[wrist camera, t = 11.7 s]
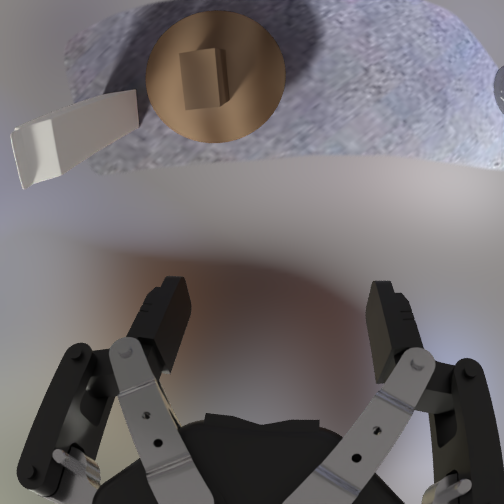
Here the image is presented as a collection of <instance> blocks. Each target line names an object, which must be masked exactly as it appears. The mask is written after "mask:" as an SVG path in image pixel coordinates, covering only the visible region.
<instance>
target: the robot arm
mask: <svg viewBox="0 0 504 504" xmlns="http://www.w3.org/2000/svg"><path fill="white" fill-rule="evenodd" d="M494 93H495V98H496V102H497V104H498V106H499V108H500V110H501V111H502V113H503V114H504V66H503V67H501V68H500V69H499V71H498V73H497V74H496V77H495V82H494ZM190 315H191V300H190V296H189V293H188V289H187V285H186V281H185V278H184V277H179V276H177V277H176V276H167V277H166V278H165V279H164V281H163V283H162V285H161V287H155V288H154V289H153V290H152V291H151V292H150V293H149V294H148V295H147V296H146V298H145V300H144V302H143V305H142V306H141V308H140V312H138V314H137V316H136V318H135V320H134V322H133V324H132V326H131V328H130V330H129V332H128V334H127V336H126V337H124V338H121V339H119V340H117V341H116V342H114V343H113V345H112V346H111V347H110V349H103V350H96V351H92V349H91V348H90V346H89V345H88V344H86V343H77V344H74V345H72V346H71V347H69V348H68V349H67V351H66V352H65V354H64V356H63V358H62V360H61V362H60V364H59V366H58V369H57V370H56V373H55V375H54V377H53V379H52V381H51V383H50V385H49V388H48V390H47V392H46V394H45V396H44V399H43V401H42V404H41V406H40V408H39V410H38V413H37V415H36V418H35V420H34V423H33V425H32V428H31V430H30V433H29V435H28V438H27V440H26V443H25V446H24V449H23V452H22V454H21V457H20V460H19V463H18V466H17V477H18V480H19V482H20V483H21V485H22V486H23V487H25V488H27V489H28V490H31V491H33V492H35V493H36V494H38V495H39V496H41V497H43V498H45V499H48V500H50V501H52V502H55V503H57V504H404V503H403V501H402V500H401V499H400V498H399V497H398V496H397V495H396V494H395V493H394V492H393V491H392V490H391V489H390V488H389V487H388V486H387V485H386V484H385V482H384V481H383V480H382V479H381V478H380V477H379V476H378V475H377V474H376V473H375V472H376V470H377V469H378V467H379V466H380V465H381V463H382V462H383V460H384V459H385V457H386V456H387V455H388V453H389V452H390V450H391V449H392V447H393V445H394V444H395V442H396V441H397V439H398V438H399V436H400V434H401V433H402V431H403V430H404V428H405V426H406V424H407V423H408V421H409V420H410V418H411V416H412V414H413V412H414V410H417V411H422V412H427V413H429V421H430V431H431V441H432V453H433V468H434V484H433V485H431V486H430V487H429V488H428V489H427V490H426V491H425V493H424V495H423V498H422V504H504V467H503V460H502V452H501V446H500V440H499V434H498V429H497V424H496V419H495V414H494V410H493V406H492V401H491V397H490V393H489V389H488V385H487V382H486V378H485V375H484V371H483V369H482V367H481V365H480V364H479V363H478V362H476V361H475V360H473V359H470V358H464V359H461V360H459V361H458V362H457V363H456V365H450V364H445V363H441V362H437V361H435V360H434V357H433V356H432V355H431V354H430V353H429V352H428V351H427V350H425V349H424V348H423V344H422V341H421V338H420V334H419V332H418V328H417V325H416V322H415V320H414V316H413V313H412V309H411V306H410V304H409V301H408V300H407V299H406V298H405V297H404V295H403V294H402V293H395V292H394V290H393V286H392V283H391V281H373V282H372V285H371V290H370V294H369V298H368V302H367V306H366V323H367V329H368V335H369V340H370V346H371V352H372V358H373V365H374V372H375V379H376V383H377V384H380V383H384V385H383V387H382V388H381V390H380V391H378V392H377V393H376V395H375V396H374V397H373V399H372V400H371V402H370V403H369V405H368V406H367V407H366V409H365V410H364V411H363V413H362V414H361V415H360V417H359V418H358V419H357V421H356V422H355V423H354V425H353V426H352V427H351V429H350V430H349V431H348V432H347V434H346V435H345V436H344V437H342V436H340V435H339V434H337V433H335V432H333V431H331V430H328V429H326V428H322V427H319V420H288V421H282V422H277V423H272V424H265V425H259V424H256V423H253V422H249V421H246V420H243V419H240V418H237V417H234V416H227V415H218V414H210V413H206V415H205V419H204V420H200V421H196V422H192V423H189V424H187V425H185V426H182V425H181V423H180V421H179V420H178V418H177V416H176V414H175V412H174V410H173V408H172V406H171V404H170V402H169V400H168V398H167V396H166V394H165V391H164V389H163V387H162V385H161V383H160V380H159V379H160V376H161V373H166V374H170V373H171V370H172V367H173V364H174V361H175V359H176V356H177V353H178V350H179V347H180V344H181V341H182V338H183V335H184V332H185V329H186V327H187V324H188V321H189V318H190ZM115 396H118V399H119V402H120V405H121V408H122V411H123V414H124V417H125V420H126V422H127V425H128V428H129V431H130V434H131V436H132V439H133V442H134V444H135V447H136V449H137V452H138V454H139V456H140V458H139V459H138V460H136V461H135V462H134V463H132V464H131V465H130V466H128V467H126V468H125V469H124V470H122V471H121V472H120V473H118V474H116V475H115V476H113V477H112V478H111V479H109V480H108V481H106V482H105V483H103V484H102V485H100V480H101V477H100V469H99V466H98V464H97V463H96V462H95V459H96V456H97V452H98V449H99V445H100V442H101V439H102V436H103V432H104V429H105V426H106V423H107V420H108V417H109V414H110V411H111V408H112V405H113V402H114V399H115Z"/></svg>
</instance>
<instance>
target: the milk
mask: <svg viewBox="0 0 504 504" xmlns="http://www.w3.org/2000/svg"><path fill="white" fill-rule="evenodd" d="M137 128H139V119H138V108H137V96H136V89H134V90H127V91H121V92H114V93H108V94H103V95H99V96H96V97H93V98H90V99H87V100H84V101H81V102H78V103H75V104H72V105H69V106H67V107H64V108H61V109H58V110H56V111H53V112H51V113H48V114H46V115H43V116H41V117H38V118H36V119H33V120H31V121H29V122H27V123H24V124H22V125H20V126H18V127H16V128H15V131H14V132H12V133H11V135H10V137H11V143H12V147H13V152H14V156H15V161H16V165H17V169H18V173H19V177H20V181H21V185H22V188H23V189H27V188H28V187H29V186H31V185H32V184H34V183H38V182H41V181H44V180H48V179H51V178H54V177H58V176H61V175H63V174H64V173H66V172H67V171H68V170H70V169H72V168H73V167H74V166H76V165H77V164H79V163H81V162H82V161H84V160H85V159H87V158H88V157H90V156H91V155H93V154H95V153H96V152H98V151H99V150H101V149H103V148H104V147H106V146H108V145H109V144H111V143H113V142H114V141H116V140H118V139H119V138H121V137H123V136H125V135H126V134H128V133H130V132H132V131H134V130H135V129H137Z"/></svg>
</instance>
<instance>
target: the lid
mask: <svg viewBox="0 0 504 504" xmlns="http://www.w3.org/2000/svg"><path fill="white" fill-rule="evenodd" d="M285 77H286V71H285V63H284V59H283V56H282V53H281V51H280V48H279V46H278V45H277V43H276V41H275V40H274V38H273V37H272V36H271V35H270V34H269V32H268V31H267V30H266V29H265V28H263V27H262V26H261V25H260V24H258V23H257V22H255V21H254V20H252V19H250V18H248V17H246V16H244V15H241V14H238V13H234V12H229V11H216V10H215V11H205V12H200V13H196V14H193V15H191V16H188V17H186V18H184V19H182V20H180V21H178V22H177V23H175V24H174V25H172V26H171V27H170V28H169V29H168V30H167V31H166V32H165V33H164V34H163V35H162V36H161V37H160V38H159V40H158V41H157V43H156V44H155V46H154V48H153V50H152V52H151V54H150V57H149V60H148V63H147V68H146V88H147V93H148V97H149V100H150V103H151V105H152V107H153V109H154V110H155V112H156V113H157V115H158V116H159V118H160V119H161V120H162V121H163V122H164V123H165V124H166V125H167V126H168V127H169V128H171V129H172V130H173V131H175V132H176V133H178V134H180V135H182V136H184V137H186V138H189V139H192V140H195V141H199V142H205V143H223V142H229V141H233V140H237V139H239V138H242V137H245V136H246V135H248V134H250V133H252V132H254V131H255V130H257V129H258V128H259V127H261V126H262V125H263V124H264V123H265V122H266V121H267V120H268V119H269V118H270V116H271V115H272V114H273V113H274V111H275V109H276V108H277V106H278V104H279V102H280V100H281V97H282V94H283V91H284V86H285Z"/></svg>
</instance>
